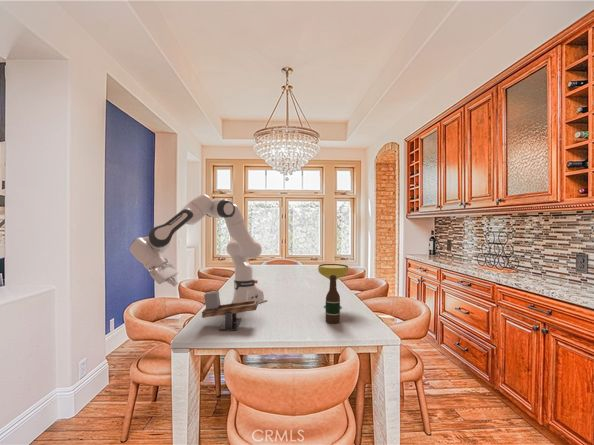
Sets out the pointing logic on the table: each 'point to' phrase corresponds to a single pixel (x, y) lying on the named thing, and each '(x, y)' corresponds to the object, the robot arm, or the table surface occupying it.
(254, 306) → the balance beam
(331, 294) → the beer bottle
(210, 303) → the block
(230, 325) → the pivot stand
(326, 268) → the cocktail glass
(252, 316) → the table surface
